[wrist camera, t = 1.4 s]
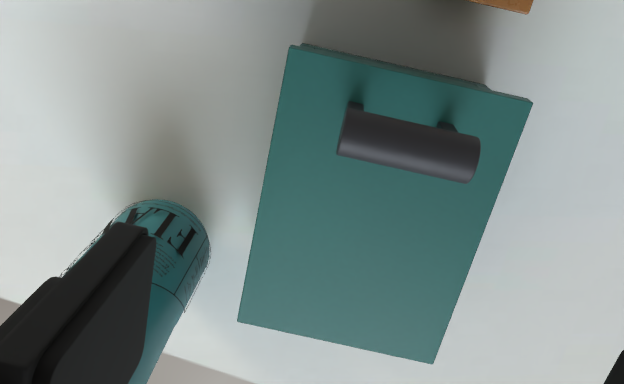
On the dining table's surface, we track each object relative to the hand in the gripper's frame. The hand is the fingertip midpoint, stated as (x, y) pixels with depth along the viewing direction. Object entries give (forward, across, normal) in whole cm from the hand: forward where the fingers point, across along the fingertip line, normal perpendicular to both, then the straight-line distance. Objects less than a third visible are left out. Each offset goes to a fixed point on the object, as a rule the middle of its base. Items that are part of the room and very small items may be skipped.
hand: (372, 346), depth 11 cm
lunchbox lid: (+15, -1, +4) cm, 16 cm away
